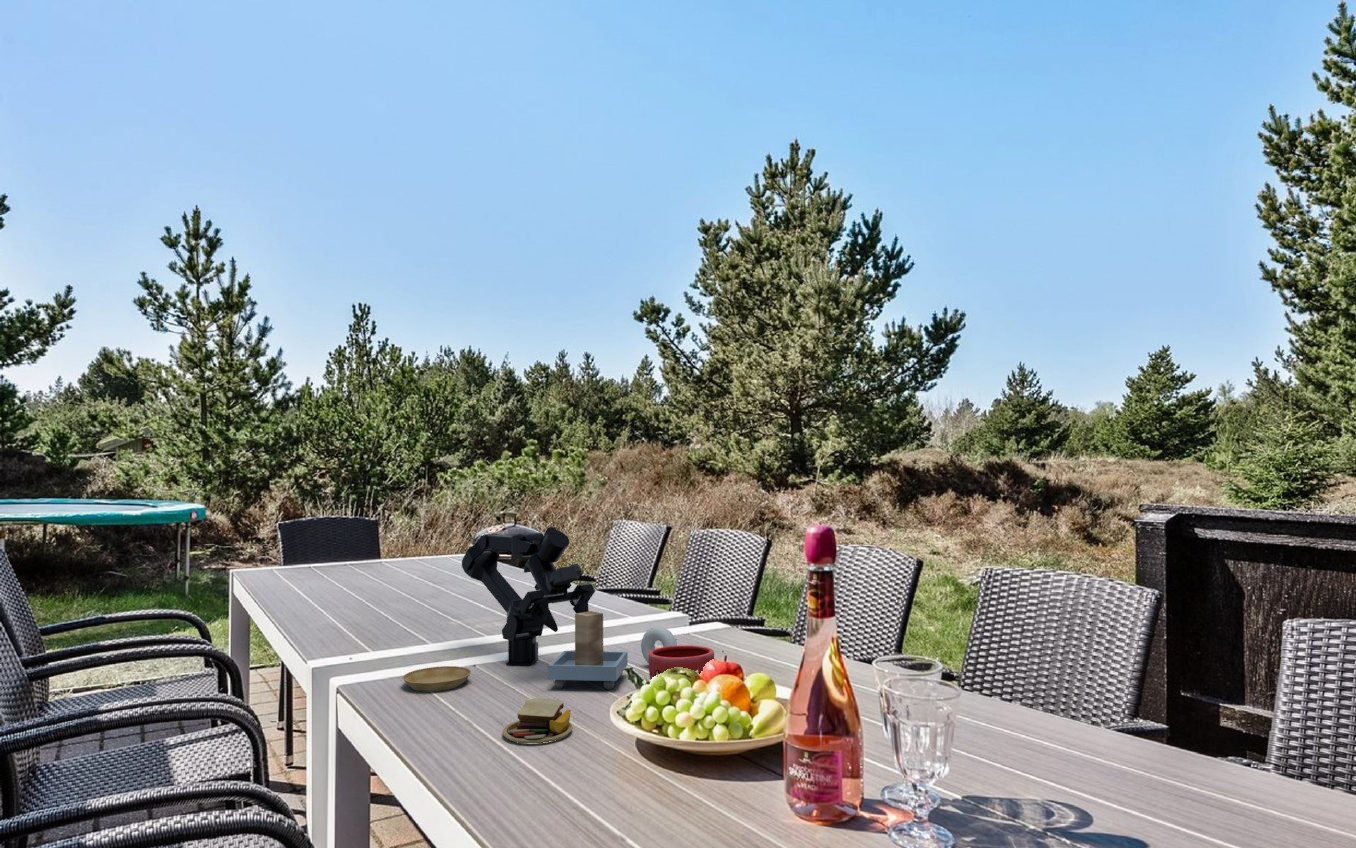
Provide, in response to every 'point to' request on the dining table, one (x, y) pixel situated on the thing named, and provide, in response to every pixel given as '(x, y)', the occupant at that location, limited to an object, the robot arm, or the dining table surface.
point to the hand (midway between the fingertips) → (573, 627)
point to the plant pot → (679, 658)
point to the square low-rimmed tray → (588, 669)
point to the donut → (653, 636)
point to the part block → (589, 638)
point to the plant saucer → (436, 678)
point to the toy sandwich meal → (539, 722)
